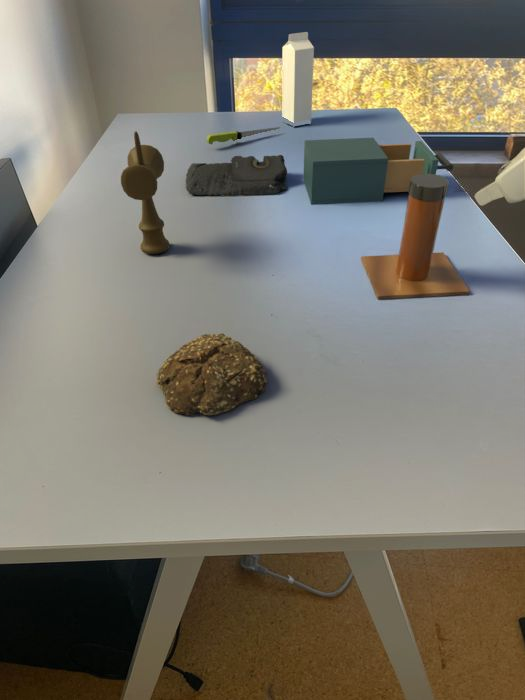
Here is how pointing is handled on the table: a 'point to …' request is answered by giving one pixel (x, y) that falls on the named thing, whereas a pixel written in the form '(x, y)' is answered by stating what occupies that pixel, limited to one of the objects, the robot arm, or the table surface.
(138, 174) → the kendama
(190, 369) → the bread roll
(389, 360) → the table surface
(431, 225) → the spice jar
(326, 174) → the cabinet
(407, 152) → the drawer
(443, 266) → the wooden board
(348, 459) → the table surface
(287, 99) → the milk
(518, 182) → the robot arm
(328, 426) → the table surface
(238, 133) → the kitchen knife
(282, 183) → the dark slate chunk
